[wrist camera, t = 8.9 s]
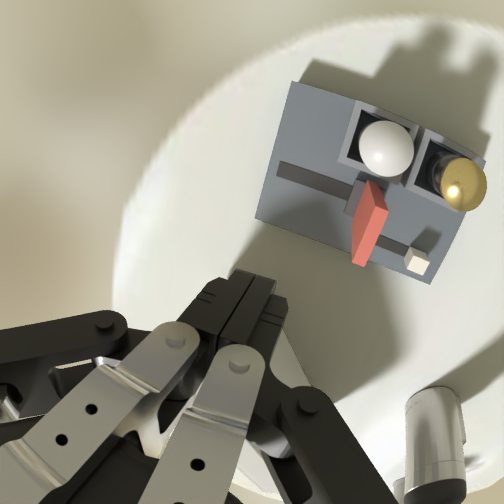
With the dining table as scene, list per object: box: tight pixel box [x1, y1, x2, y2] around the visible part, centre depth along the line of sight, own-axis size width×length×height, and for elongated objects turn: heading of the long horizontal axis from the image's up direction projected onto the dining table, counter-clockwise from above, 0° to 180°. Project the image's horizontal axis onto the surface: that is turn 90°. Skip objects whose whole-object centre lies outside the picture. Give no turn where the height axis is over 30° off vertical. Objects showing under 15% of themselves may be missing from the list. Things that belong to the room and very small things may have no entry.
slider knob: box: [404, 247, 430, 276], centre depth 28 cm, size 2×2×2 cm
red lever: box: [344, 178, 389, 267], centre depth 24 cm, size 3×4×10 cm
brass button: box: [425, 151, 487, 212], centre depth 18 cm, size 4×4×5 cm
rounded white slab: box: [189, 328, 311, 494], centre depth 37 cm, size 29×8×18 cm, turn 26°
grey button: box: [358, 121, 414, 177], centre depth 19 cm, size 4×4×5 cm
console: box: [255, 81, 486, 285], centre depth 27 cm, size 21×15×8 cm
